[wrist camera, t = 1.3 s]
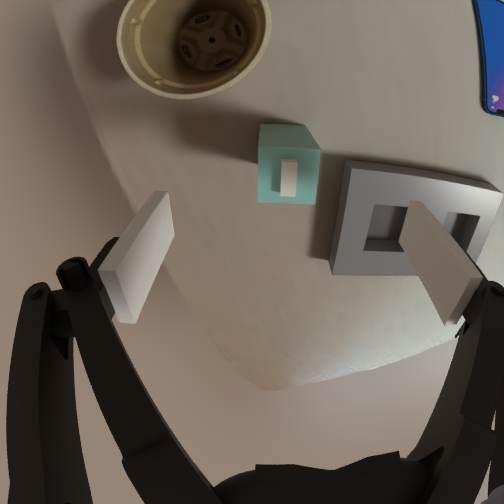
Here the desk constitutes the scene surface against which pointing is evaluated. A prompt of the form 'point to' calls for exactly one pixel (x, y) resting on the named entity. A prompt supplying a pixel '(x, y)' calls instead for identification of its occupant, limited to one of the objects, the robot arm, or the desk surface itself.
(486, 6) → the smartphone
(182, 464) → the robot arm
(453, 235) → the outlet plate
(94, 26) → the desk surface
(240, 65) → the flower pot
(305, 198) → the charger
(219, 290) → the desk surface
